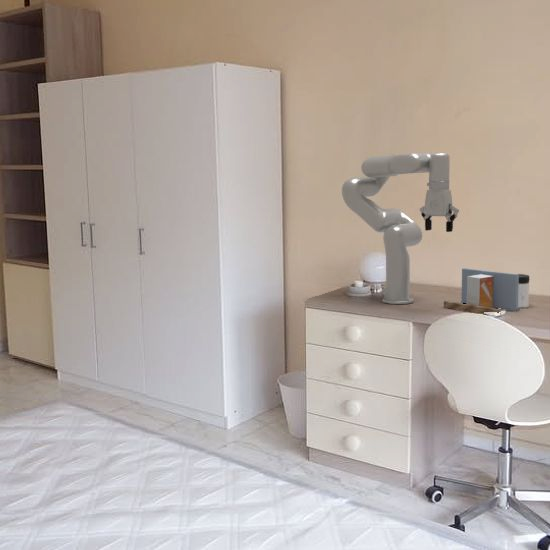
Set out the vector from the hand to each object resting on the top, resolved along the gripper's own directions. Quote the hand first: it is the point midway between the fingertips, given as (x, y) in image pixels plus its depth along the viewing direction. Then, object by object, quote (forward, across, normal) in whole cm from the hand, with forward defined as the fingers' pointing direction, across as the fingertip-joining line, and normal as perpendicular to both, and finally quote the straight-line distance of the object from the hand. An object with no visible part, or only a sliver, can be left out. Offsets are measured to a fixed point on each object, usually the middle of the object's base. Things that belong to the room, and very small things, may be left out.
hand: (438, 230), depth 275 cm
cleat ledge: (+30, +13, +3) cm, 33 cm away
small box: (+31, +13, +9) cm, 34 cm away
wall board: (+30, +13, +15) cm, 36 cm away
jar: (+31, +20, +24) cm, 44 cm away
